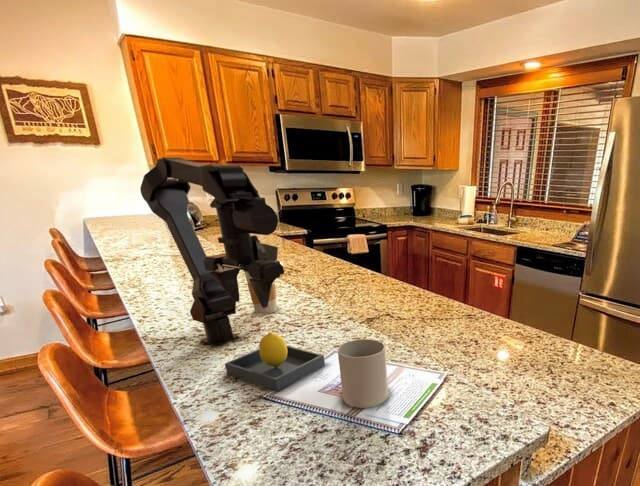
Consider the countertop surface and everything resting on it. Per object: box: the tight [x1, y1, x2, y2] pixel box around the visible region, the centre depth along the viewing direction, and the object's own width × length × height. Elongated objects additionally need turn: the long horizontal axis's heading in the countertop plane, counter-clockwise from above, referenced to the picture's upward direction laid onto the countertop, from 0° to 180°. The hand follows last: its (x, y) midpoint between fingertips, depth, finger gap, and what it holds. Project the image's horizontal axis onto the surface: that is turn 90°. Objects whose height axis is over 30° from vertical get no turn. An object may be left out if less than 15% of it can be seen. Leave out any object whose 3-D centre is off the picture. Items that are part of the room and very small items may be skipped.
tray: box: [224, 344, 326, 392], centre depth 91 cm, size 15×13×2 cm
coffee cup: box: [242, 260, 278, 315], centre depth 125 cm, size 8×8×15 cm
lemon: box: [258, 332, 288, 368], centre depth 90 cm, size 6×6×8 cm
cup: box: [337, 338, 389, 409], centre depth 78 cm, size 8×8×10 cm
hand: (250, 304), depth 94 cm, fingers open, 9 cm apart
